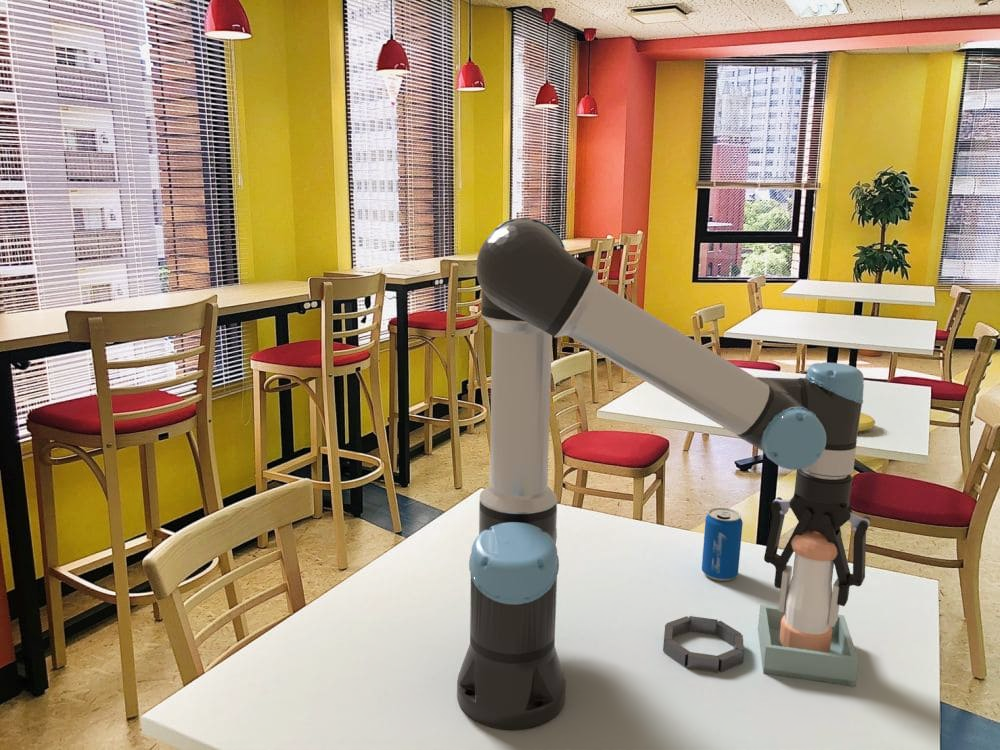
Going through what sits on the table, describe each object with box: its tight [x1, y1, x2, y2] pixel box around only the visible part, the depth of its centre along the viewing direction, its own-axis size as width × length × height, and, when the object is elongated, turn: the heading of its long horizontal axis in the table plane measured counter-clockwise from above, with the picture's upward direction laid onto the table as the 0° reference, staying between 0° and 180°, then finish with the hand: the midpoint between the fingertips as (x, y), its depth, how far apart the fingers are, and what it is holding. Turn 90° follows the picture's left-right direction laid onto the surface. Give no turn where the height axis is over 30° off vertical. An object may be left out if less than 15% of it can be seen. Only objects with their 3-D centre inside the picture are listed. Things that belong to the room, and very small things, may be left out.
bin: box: [757, 604, 859, 687], centre depth 124 cm, size 13×13×4 cm
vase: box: [858, 412, 876, 433], centre depth 241 cm, size 16×16×7 cm
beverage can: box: [701, 507, 744, 582], centre depth 149 cm, size 6×6×12 cm
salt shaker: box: [779, 530, 838, 653], centre depth 122 cm, size 7×7×19 cm
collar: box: [662, 615, 745, 673], centre depth 126 cm, size 12×12×2 cm
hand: (807, 614), depth 123 cm, fingers closed on salt shaker, 6 cm apart
